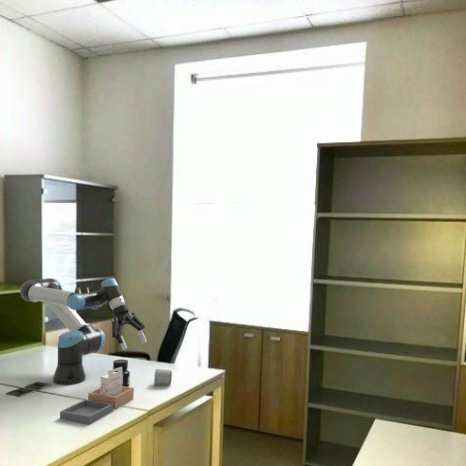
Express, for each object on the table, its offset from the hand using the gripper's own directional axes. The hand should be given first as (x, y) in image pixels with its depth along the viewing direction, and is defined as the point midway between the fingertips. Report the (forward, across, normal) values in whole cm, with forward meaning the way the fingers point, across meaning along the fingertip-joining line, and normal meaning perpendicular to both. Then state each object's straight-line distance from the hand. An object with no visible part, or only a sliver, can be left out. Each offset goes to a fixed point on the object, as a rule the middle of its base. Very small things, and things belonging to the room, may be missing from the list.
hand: (135, 345), depth 223 cm
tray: (+21, -43, -6) cm, 48 cm away
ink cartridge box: (+20, -27, -2) cm, 34 cm away
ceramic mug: (+23, +5, -2) cm, 23 cm away
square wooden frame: (+20, -27, -2) cm, 34 cm away
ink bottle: (+14, -10, +10) cm, 20 cm away
